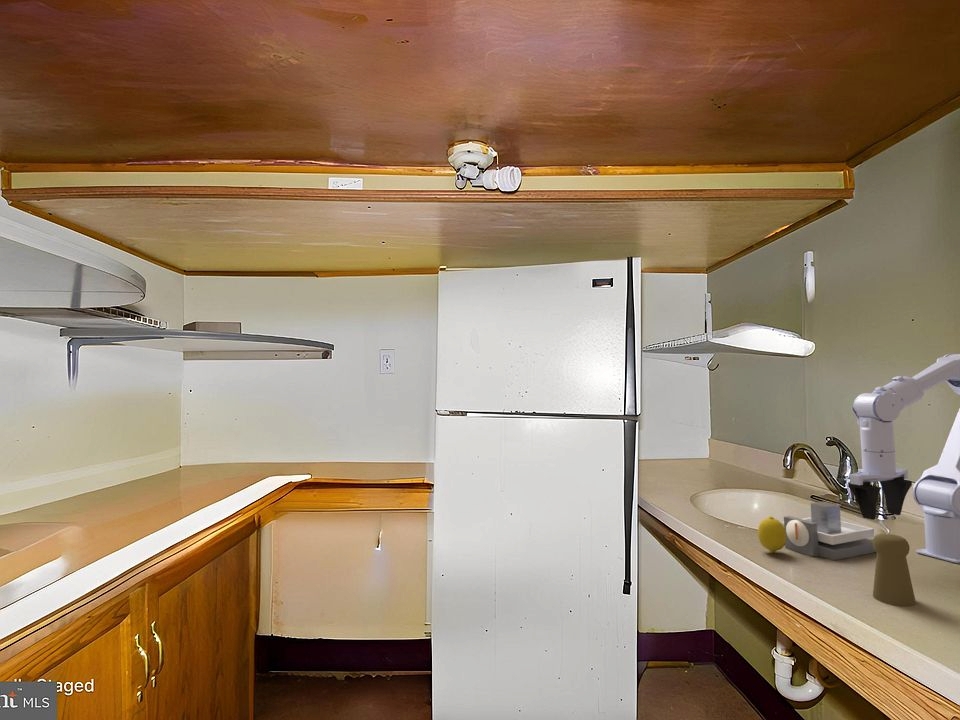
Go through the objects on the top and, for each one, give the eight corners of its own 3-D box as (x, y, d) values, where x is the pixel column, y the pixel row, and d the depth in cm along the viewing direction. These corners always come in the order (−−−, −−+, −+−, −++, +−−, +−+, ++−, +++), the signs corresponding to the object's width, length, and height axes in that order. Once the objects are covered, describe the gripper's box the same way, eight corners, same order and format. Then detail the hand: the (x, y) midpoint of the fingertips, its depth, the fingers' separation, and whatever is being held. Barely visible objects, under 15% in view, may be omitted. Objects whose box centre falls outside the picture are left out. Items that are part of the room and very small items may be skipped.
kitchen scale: (821, 534, 134) (819, 505, 134) (879, 551, 121) (878, 518, 121) (770, 543, 129) (769, 513, 129) (826, 561, 115) (824, 528, 116)
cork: (874, 589, 100) (870, 528, 101) (916, 597, 97) (912, 533, 97) (871, 600, 96) (867, 537, 96) (915, 609, 92) (911, 542, 92)
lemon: (771, 547, 126) (769, 512, 126) (793, 554, 121) (791, 517, 121) (753, 551, 124) (751, 515, 124) (774, 558, 119) (772, 521, 119)
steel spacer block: (824, 527, 128) (823, 501, 128) (841, 531, 124) (839, 505, 124) (812, 529, 126) (810, 503, 127) (828, 534, 123) (826, 507, 123)
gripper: (882, 446, 121) (885, 508, 121) (834, 451, 116) (838, 516, 116) (916, 449, 114) (921, 515, 114) (868, 455, 110) (872, 524, 109)
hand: (881, 516), depth 114 cm, fingers open, 7 cm apart
